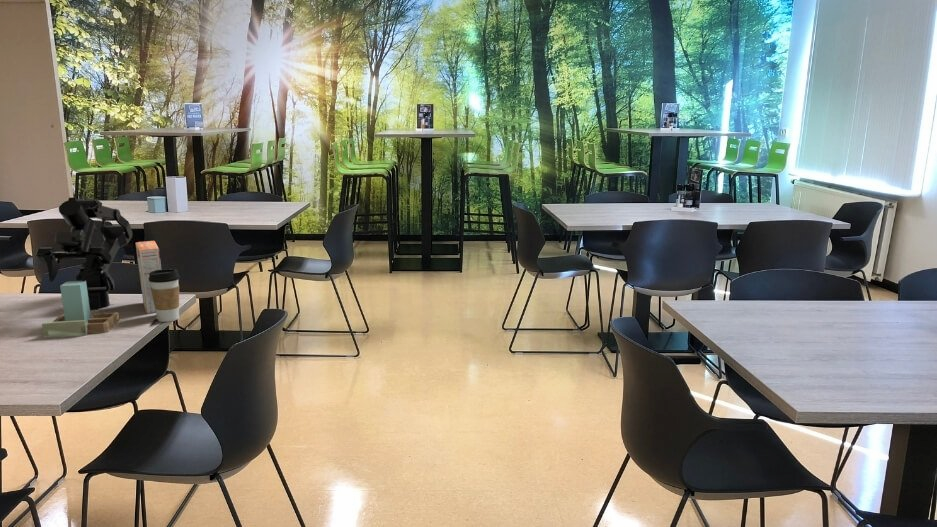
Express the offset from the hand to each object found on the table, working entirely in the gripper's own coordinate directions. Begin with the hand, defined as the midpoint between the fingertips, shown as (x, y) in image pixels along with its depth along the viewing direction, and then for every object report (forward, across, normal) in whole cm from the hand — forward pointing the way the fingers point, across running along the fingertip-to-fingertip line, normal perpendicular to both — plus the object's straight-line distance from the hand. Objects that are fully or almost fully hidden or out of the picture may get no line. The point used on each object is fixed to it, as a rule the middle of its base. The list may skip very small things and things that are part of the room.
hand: (66, 281), depth 186 cm
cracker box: (-1, +17, +21) cm, 27 cm away
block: (+10, +2, +8) cm, 13 cm away
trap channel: (+13, +5, +6) cm, 15 cm away
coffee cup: (+6, +25, +14) cm, 29 cm away
